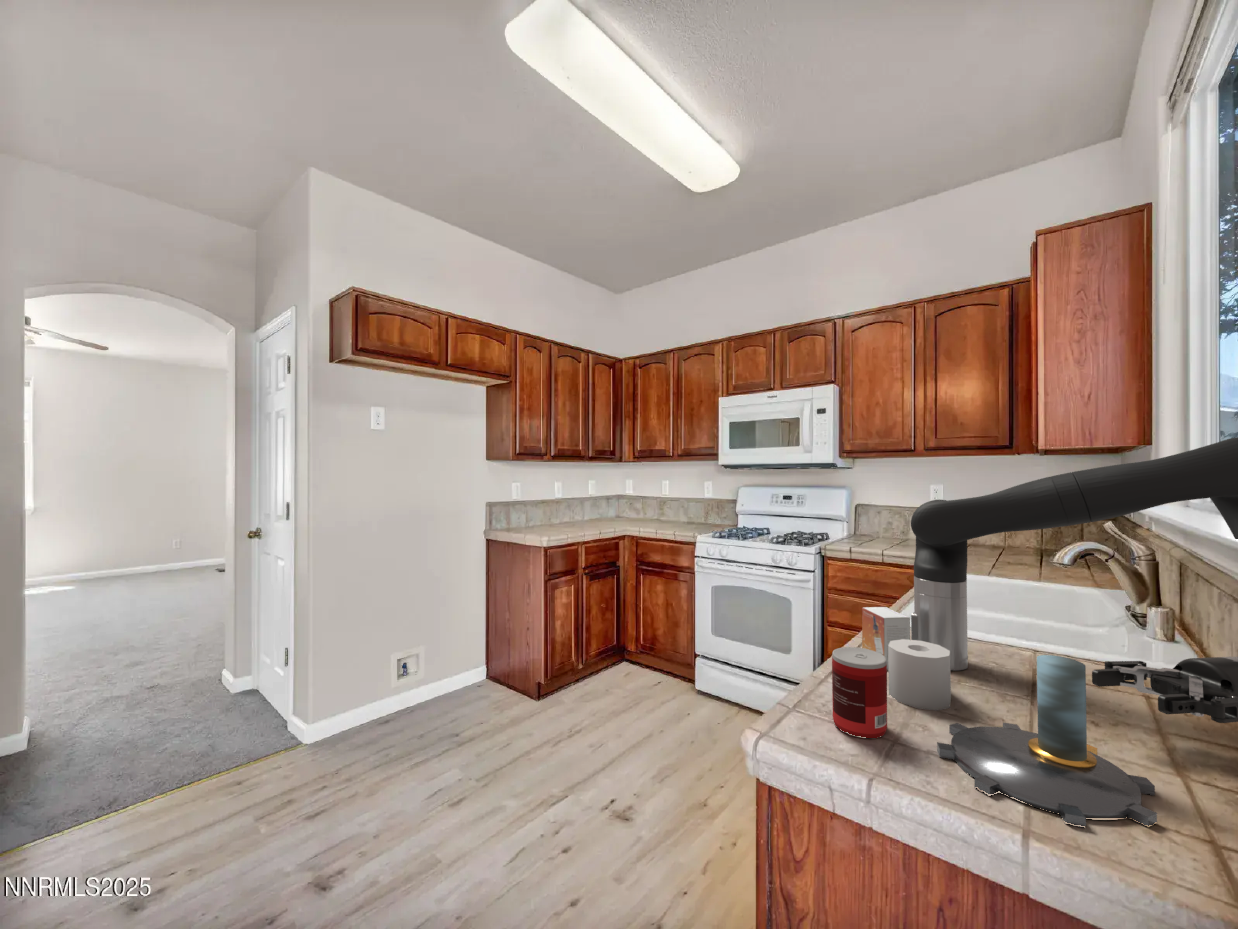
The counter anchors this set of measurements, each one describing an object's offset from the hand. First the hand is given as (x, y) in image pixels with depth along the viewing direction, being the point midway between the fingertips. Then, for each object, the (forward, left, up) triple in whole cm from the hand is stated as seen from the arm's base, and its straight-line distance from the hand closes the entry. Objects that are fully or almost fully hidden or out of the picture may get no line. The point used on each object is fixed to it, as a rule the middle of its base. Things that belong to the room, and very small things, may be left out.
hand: (1125, 690), depth 70 cm
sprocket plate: (-8, -12, -9) cm, 18 cm away
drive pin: (-6, -7, -8) cm, 12 cm away
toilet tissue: (-25, +3, -9) cm, 27 cm away
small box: (-35, +15, -9) cm, 39 cm away
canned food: (-29, -16, -9) cm, 35 cm away
